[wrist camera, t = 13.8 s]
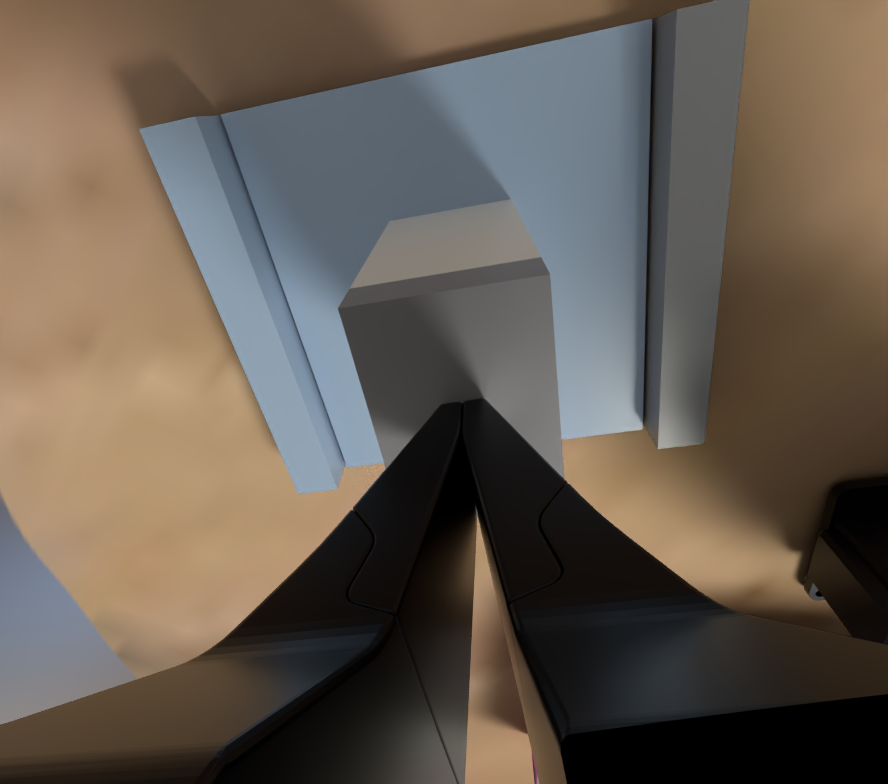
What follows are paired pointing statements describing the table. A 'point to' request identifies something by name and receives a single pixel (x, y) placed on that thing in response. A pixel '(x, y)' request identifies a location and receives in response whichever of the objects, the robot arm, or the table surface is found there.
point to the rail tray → (474, 183)
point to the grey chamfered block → (455, 326)
